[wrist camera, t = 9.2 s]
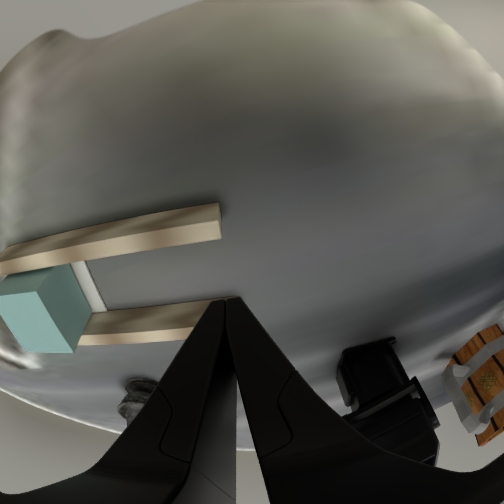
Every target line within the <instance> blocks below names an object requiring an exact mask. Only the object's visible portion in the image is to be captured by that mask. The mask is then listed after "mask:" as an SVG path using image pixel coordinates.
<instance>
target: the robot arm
mask: <svg viewBox="0 0 504 504" xmlns="http://www.w3.org/2000/svg"><path fill="white" fill-rule="evenodd" d="M396 343H397V340H396V338H395V337H393V338H389V339H386V340H382V341H378V342H375V343H371V344H367V345H363V346H359V347H355V348H351V349H347V350H345V351H344V352H343V353H342V359H341V364H340V366H339V367H338V372H337V378H336V380H337V383H338V386H339V389H340V392H341V394H342V397H343V400H344V403H345V406H347V407H349V406H351V409H352V413H350V414H348V415H347V414H346V415H344V416H342V417H341V416H340V415H339V414H338V413H336V412H335V411H334V410H333V409H332V408H331V407H330V406H329V405H328V404H327V403H326V402H325V401H323V400H322V399H321V398H320V397H319V396H318V395H317V394H316V393H315V391H314V390H313V389H312V388H311V387H310V386H309V385H308V383H307V382H306V381H305V380H304V379H303V377H302V376H301V375H300V374H299V372H298V371H297V370H295V368H294V366H293V365H292V364H291V363H290V361H289V360H288V359H287V357H286V356H285V355H284V354H283V352H282V351H281V350H280V348H279V347H278V346H277V345H276V343H275V342H274V341H273V339H272V338H271V337H270V335H269V334H268V333H267V332H266V330H265V329H264V328H263V326H262V325H261V324H260V322H259V321H258V320H257V318H256V317H255V316H254V314H253V313H252V312H251V310H250V309H249V308H248V306H247V305H246V304H245V302H244V301H243V300H242V298H241V297H232V298H227V299H226V300H225V299H218V300H213V301H211V302H210V303H209V305H208V306H207V308H206V309H205V311H204V313H203V314H202V316H201V317H200V319H199V320H198V322H197V323H196V325H195V326H194V328H193V330H192V331H191V333H190V334H189V336H188V337H187V339H186V340H185V342H184V344H183V345H182V347H181V348H180V350H179V351H178V353H177V354H176V356H175V358H174V359H173V361H172V362H171V364H170V365H169V367H168V368H167V370H166V372H165V373H164V375H163V376H162V378H161V379H160V381H159V383H158V384H157V385H158V386H156V387H155V389H154V390H153V392H152V393H151V395H150V396H149V398H148V399H147V401H146V402H145V404H144V405H143V407H142V408H141V410H140V411H139V412H138V414H137V415H136V416H135V418H134V419H133V420H132V421H131V423H130V424H129V425H128V427H127V428H126V429H125V430H124V431H123V433H122V434H121V435H120V436H119V437H118V439H117V440H116V441H115V442H114V443H113V445H112V446H111V447H110V448H109V450H108V451H107V452H106V453H105V454H104V456H103V457H102V458H101V459H100V460H99V461H98V462H97V463H96V464H95V465H94V466H92V467H91V468H90V469H88V470H87V471H85V472H83V473H81V474H78V475H76V476H73V477H71V478H68V479H65V480H62V481H60V482H57V483H54V484H51V485H48V486H45V487H42V488H39V489H35V490H32V491H29V492H25V493H20V494H5V493H2V492H0V504H236V502H235V501H236V408H237V381H238V385H239V389H240V393H241V397H242V401H243V405H244V409H245V413H246V416H247V420H248V424H249V428H250V431H251V435H252V439H253V442H254V446H255V450H256V453H257V457H258V460H259V464H260V467H261V471H262V475H263V478H264V482H265V486H266V490H267V494H268V498H269V502H270V504H504V453H503V454H502V455H500V456H499V457H498V458H496V459H495V460H494V461H492V462H491V463H489V464H488V465H486V466H485V467H484V468H482V469H480V470H477V471H473V472H455V471H449V470H446V469H442V468H438V467H436V465H437V460H438V454H439V449H440V443H439V440H438V438H437V436H436V434H435V432H434V429H435V428H437V427H439V426H440V423H439V421H438V419H437V416H436V414H435V412H434V410H433V408H432V406H431V404H430V402H429V400H428V398H427V396H426V394H425V392H424V390H423V389H422V387H421V385H420V383H419V381H418V379H417V378H416V376H414V377H413V378H411V380H409V378H408V376H407V374H406V372H405V370H404V368H403V366H402V364H401V362H400V361H399V359H398V357H397V355H396V353H395V351H394V349H395V346H396ZM418 397H420V398H418Z"/></svg>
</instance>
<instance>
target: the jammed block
mask: <svg viewBox="0 0 504 504" xmlns="http://www.w3.org/2000/svg"><path fill="white" fill-rule="evenodd" d="M91 313H92V310H91V308H90V307H89V305H88V303H87V301H86V299H85V297H84V295H83V293H82V291H81V289H80V287H79V285H78V282H77V280H76V278H75V276H74V274H73V272H72V269H71V267H70V265H69V263H68V264H63V265H57V266H51V267H46V268H40V269H35V270H29V271H24V272H19V273H13V274H8V275H7V277H6V278H5V279H4V280H3V281H2V283H1V284H0V315H1V316H2V318H3V320H4V321H5V323H6V324H7V326H8V327H9V329H10V330H11V332H12V333H13V335H14V336H15V338H16V339H17V340H18V342H19V343H20V345H21V346H22V347H23V349H24V350H25V351H26V352H47V353H74V352H75V349H76V347H77V345H78V342H79V340H80V338H81V335H82V333H83V331H84V328H85V326H86V324H87V322H88V319H89V317H90V315H91Z"/></svg>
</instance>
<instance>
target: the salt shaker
mask: <svg viewBox="0 0 504 504" xmlns="http://www.w3.org/2000/svg"><path fill="white" fill-rule="evenodd" d="M157 384H158V382H156V381H153V380H150V379H146V378H132V379H129V380H127V382H126V383H125V389H126V391H127V392H128V393H129V394H127V395H126V396H125V397H124V399H123V400H122V402H121V404H119V405H118V407H117V411H118V413H119V414H120V415H121V416H122V417H123V418H124V419H126V420H127V427H128V425H129V424H130V423H131V421H132V420H133V419H134V418H135V416H136V415H137V414H138V412H139V411H140V410H141V408H142V407H143V405H144V404H145V402H146V401H147V399H148V398H149V396H150V395H151V393H152V392H153V390H154V389H155V387H156V386H158V385H157Z"/></svg>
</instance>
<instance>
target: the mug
mask: <svg viewBox="0 0 504 504" xmlns="http://www.w3.org/2000/svg"><path fill="white" fill-rule="evenodd" d="M442 379H443V383H444V387H445V389H446V391H447V393H448V395H449V397H450V399H451V401H452V402H453V404H454V406H455V409H456V411H457V413H458V416H459V418H460V421H461V423H462V424H463V426H464V427H465V428H466V430H467V431H468V433H472V434H475V437H476V440H477V443H478V445H479V446H483V445H485V444H486V443H488V442H489V441H491V440H492V439H493V438H495V437H496V436H498V435H499V434H500V433H502V432H503V431H504V335H503V333H502V331H501V330H500V328H499V326H498V325H497V324H495V325H493V326H491V327H489V328H487V329H485V330H482V331H480V332H478V333H477V334H476V335H475V336H474V337H473V338H472V339H471V340H470V341H469V342H467V343H466V344H465V345H464V346H463V347H462V348H461V349H460V350H459V351H458V352H457V353H456V354H455V355H453V357H452V359H451V360H450V362H449V364H448V366H447V367H446V369H445V371H444V372H443V374H442Z"/></svg>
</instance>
